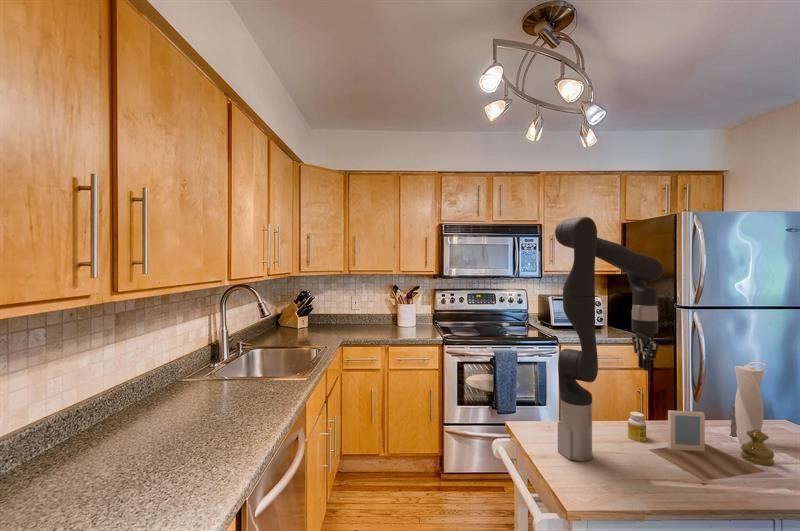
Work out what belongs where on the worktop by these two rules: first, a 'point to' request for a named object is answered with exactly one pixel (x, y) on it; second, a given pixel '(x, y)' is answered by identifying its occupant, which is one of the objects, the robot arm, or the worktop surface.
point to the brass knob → (757, 449)
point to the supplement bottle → (637, 427)
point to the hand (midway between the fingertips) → (644, 368)
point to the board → (707, 462)
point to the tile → (686, 430)
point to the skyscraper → (747, 402)
